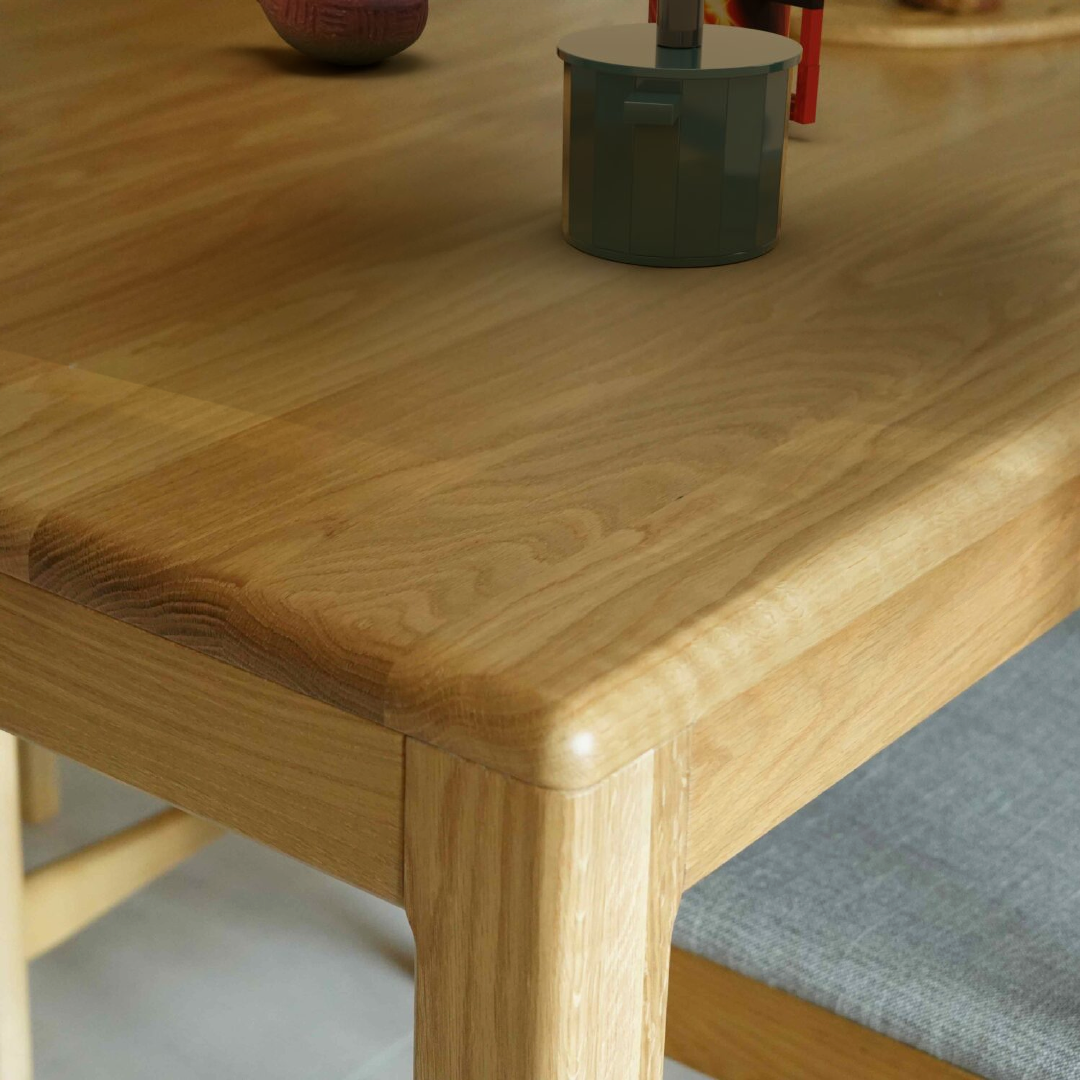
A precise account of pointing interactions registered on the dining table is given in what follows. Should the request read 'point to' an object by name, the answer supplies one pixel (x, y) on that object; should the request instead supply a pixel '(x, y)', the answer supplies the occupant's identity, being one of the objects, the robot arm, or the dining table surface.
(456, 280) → the dining table surface
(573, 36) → the pot lid
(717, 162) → the pot
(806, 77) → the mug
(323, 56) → the bowl
